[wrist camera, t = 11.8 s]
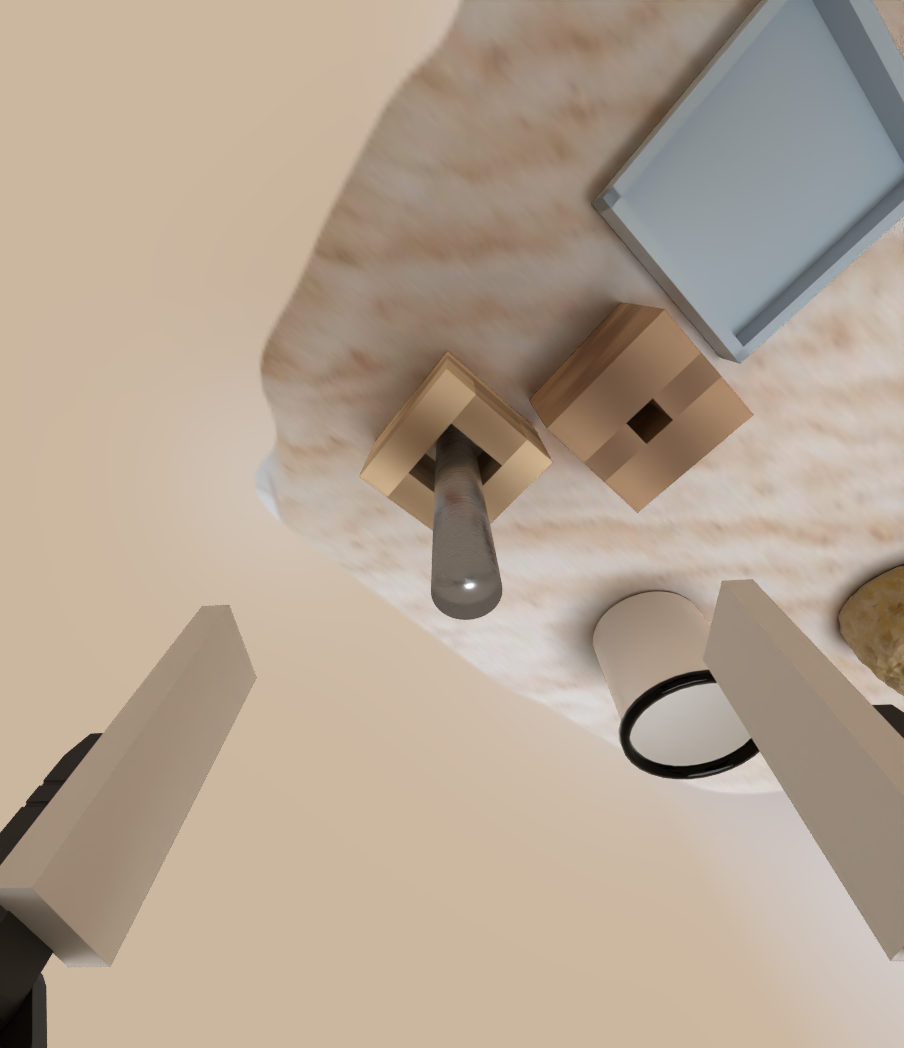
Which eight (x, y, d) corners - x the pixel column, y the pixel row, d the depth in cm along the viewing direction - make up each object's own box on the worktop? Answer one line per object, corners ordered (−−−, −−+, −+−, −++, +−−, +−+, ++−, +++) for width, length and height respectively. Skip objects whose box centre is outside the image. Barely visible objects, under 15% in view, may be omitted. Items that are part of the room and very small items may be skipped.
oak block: (447, 350, 27) (446, 368, 21) (534, 427, 29) (552, 461, 23) (375, 440, 29) (358, 476, 24) (460, 505, 31) (462, 551, 26)
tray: (797, -45, 19) (832, -77, 17) (918, 174, 23) (958, 166, 21) (591, 203, 23) (602, 198, 21) (721, 357, 27) (740, 363, 25)
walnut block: (620, 302, 25) (664, 309, 20) (695, 387, 28) (753, 414, 22) (528, 399, 28) (546, 428, 23) (604, 471, 30) (637, 512, 25)
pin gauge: (452, 415, 27) (463, 548, 14) (480, 439, 28) (516, 587, 14) (428, 443, 28) (416, 595, 14) (456, 465, 28) (469, 630, 15)
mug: (561, 651, 37) (590, 754, 29) (635, 563, 33) (693, 654, 25) (677, 700, 40) (733, 806, 32) (759, 624, 36) (846, 724, 28)
